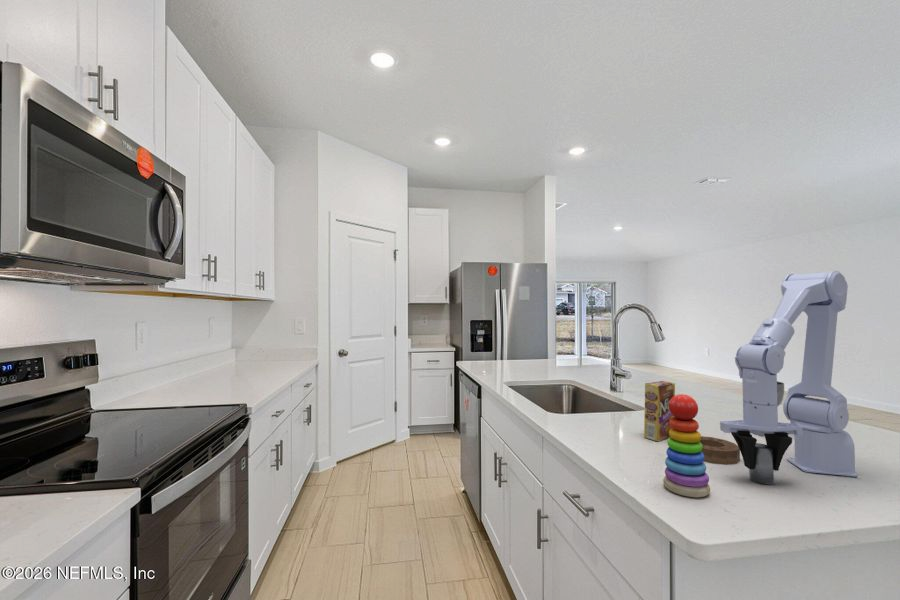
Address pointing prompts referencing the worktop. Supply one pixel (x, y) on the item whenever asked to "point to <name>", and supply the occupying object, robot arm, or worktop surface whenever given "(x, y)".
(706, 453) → the walnut bead
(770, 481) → the steel peg
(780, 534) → the worktop surface
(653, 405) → the candy box
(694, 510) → the worktop surface
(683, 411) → the stacking toy
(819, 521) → the worktop surface
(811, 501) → the worktop surface
